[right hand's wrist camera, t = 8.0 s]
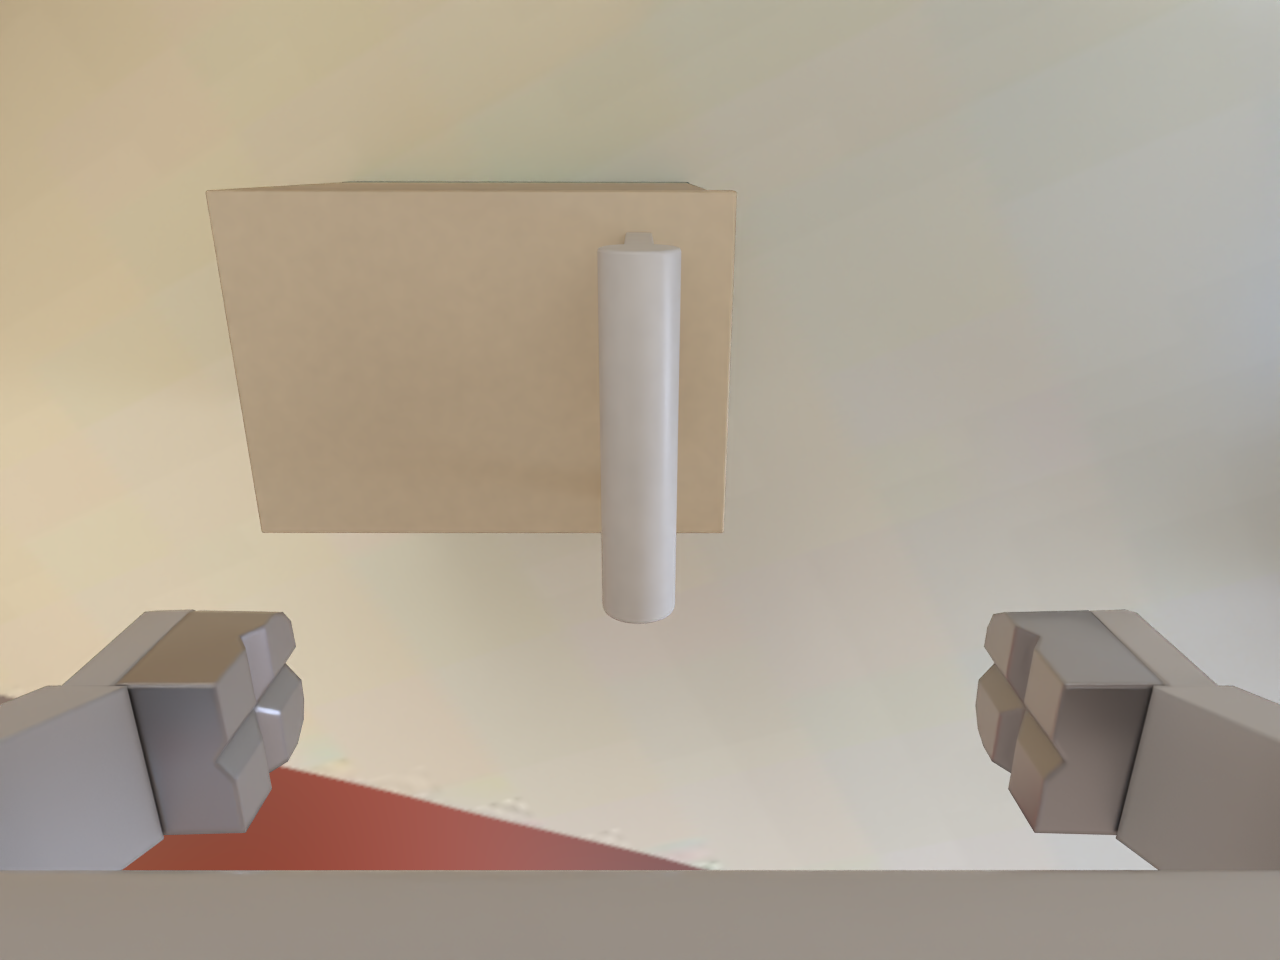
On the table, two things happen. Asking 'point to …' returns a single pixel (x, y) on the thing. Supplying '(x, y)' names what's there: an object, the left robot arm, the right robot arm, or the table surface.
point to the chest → (487, 186)
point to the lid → (487, 365)
